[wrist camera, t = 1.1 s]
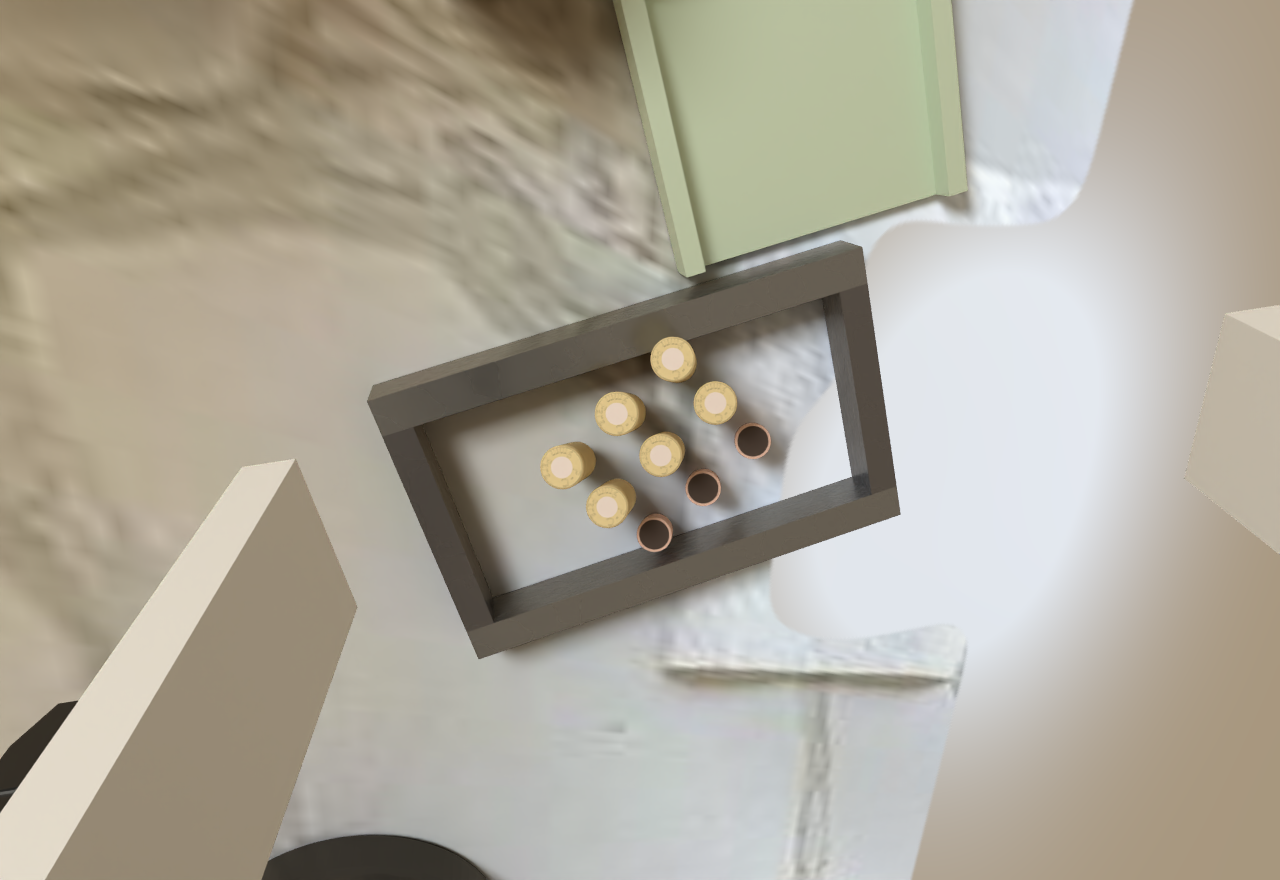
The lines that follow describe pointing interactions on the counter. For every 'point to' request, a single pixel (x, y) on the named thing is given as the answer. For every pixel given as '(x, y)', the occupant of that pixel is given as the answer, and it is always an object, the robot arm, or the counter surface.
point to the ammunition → (652, 447)
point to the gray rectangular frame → (617, 339)
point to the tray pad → (791, 114)
